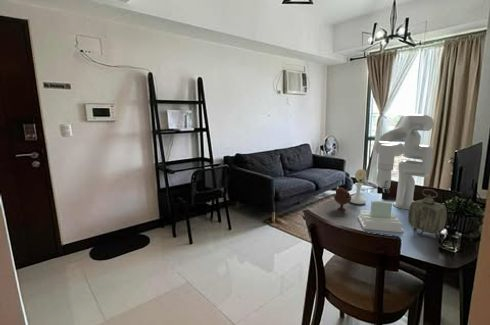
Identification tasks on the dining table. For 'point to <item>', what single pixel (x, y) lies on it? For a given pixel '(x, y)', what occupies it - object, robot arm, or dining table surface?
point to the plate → (381, 209)
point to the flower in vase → (357, 197)
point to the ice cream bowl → (342, 198)
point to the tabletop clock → (427, 215)
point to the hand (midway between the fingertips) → (382, 196)
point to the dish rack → (379, 222)
